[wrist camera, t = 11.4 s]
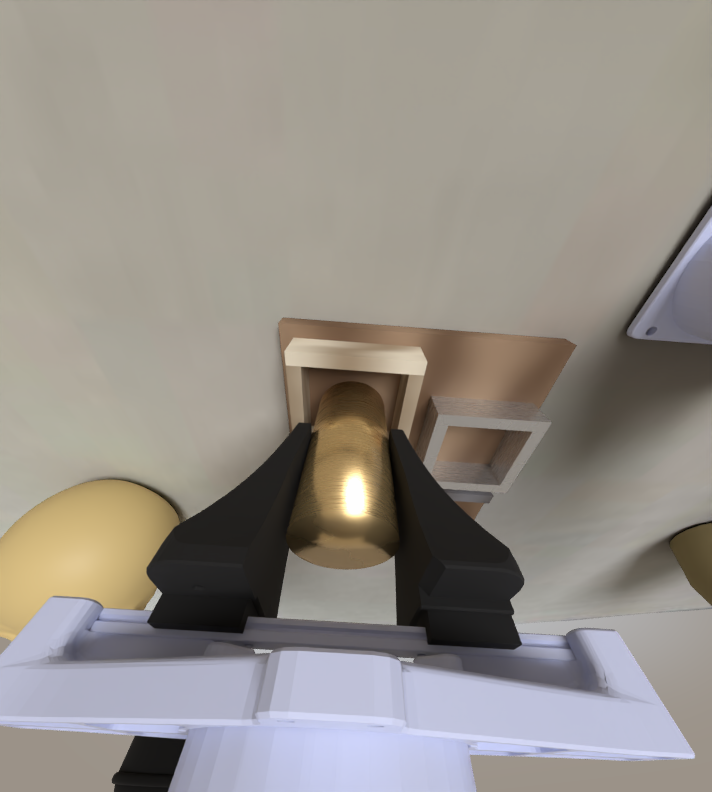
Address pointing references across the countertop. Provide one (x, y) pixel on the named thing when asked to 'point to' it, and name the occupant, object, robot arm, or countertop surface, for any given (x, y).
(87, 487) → the sculpture
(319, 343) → the ash socket frame
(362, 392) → the brass cylinder plug
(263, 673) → the robot arm
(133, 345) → the countertop surface
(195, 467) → the countertop surface
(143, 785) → the aerosol can
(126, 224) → the countertop surface
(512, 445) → the steel socket
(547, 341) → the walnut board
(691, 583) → the squeeze bottle
